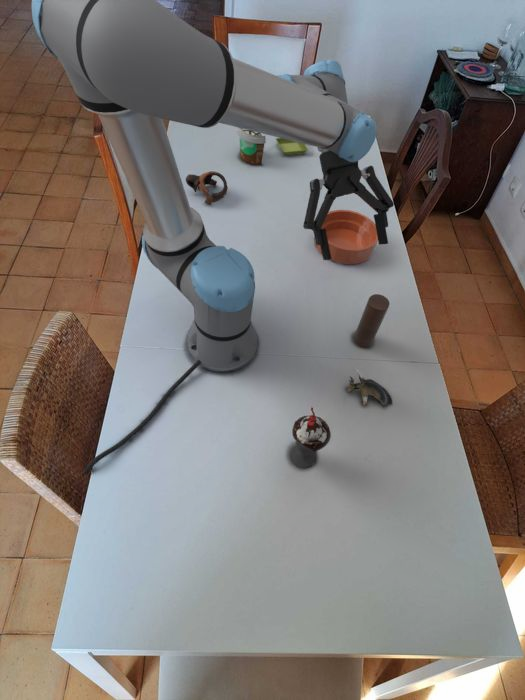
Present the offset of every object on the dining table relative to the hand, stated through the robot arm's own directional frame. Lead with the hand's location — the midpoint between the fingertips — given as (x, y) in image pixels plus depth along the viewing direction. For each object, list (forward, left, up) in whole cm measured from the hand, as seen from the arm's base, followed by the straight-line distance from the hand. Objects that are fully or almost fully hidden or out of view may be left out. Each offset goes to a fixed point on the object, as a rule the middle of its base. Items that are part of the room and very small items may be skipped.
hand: (355, 251), depth 98 cm
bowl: (+21, +3, -16) cm, 27 cm away
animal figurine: (-25, -10, -16) cm, 31 cm away
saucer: (+62, +28, -16) cm, 70 cm away
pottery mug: (+28, +45, -16) cm, 55 cm away
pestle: (-10, -7, -16) cm, 20 cm away
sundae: (-42, 0, -16) cm, 45 cm away
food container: (+51, +40, -16) cm, 67 cm away
